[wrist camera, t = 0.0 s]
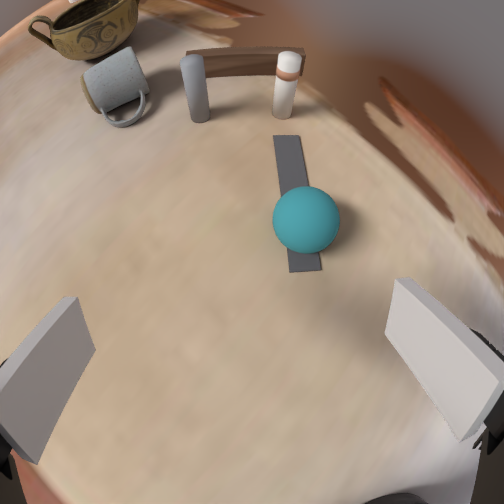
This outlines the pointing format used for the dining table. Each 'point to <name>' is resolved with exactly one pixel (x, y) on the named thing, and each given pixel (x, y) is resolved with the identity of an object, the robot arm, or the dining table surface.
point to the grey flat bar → (290, 178)
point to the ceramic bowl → (89, 28)
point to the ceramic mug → (115, 85)
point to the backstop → (243, 60)
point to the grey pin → (195, 87)
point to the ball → (306, 219)
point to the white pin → (286, 83)
